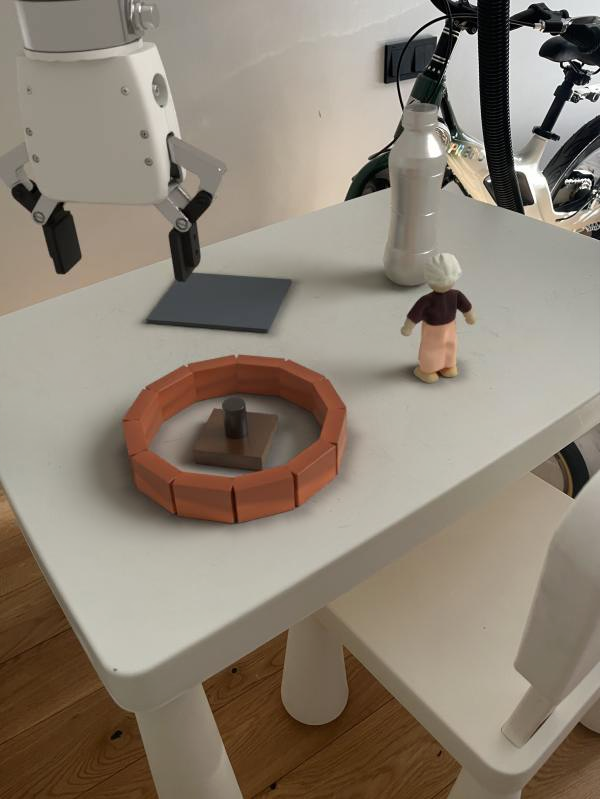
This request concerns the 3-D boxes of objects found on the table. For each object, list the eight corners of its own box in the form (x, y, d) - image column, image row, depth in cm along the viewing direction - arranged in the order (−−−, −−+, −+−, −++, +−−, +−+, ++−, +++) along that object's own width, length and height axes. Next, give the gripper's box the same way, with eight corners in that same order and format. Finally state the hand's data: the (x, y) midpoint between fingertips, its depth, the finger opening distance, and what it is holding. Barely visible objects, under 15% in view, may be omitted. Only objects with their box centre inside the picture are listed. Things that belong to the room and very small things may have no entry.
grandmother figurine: (449, 353, 76) (461, 237, 68) (474, 370, 73) (490, 252, 65) (389, 376, 73) (395, 258, 65) (413, 395, 70) (422, 274, 62)
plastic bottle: (372, 284, 88) (378, 111, 77) (398, 262, 93) (407, 96, 81) (421, 297, 85) (434, 119, 74) (445, 274, 90) (462, 103, 78)
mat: (147, 323, 83) (146, 319, 82) (182, 275, 92) (182, 271, 92) (267, 333, 80) (267, 329, 80) (291, 282, 89) (291, 279, 89)
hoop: (94, 505, 59) (86, 473, 57) (173, 376, 74) (169, 347, 72) (322, 535, 56) (322, 503, 54) (358, 394, 70) (358, 364, 68)
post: (194, 463, 63) (188, 421, 60) (215, 420, 68) (210, 380, 65) (262, 471, 62) (259, 429, 59) (278, 427, 66) (276, 387, 64)
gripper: (227, 14, 48) (247, 255, 58) (-11, 16, 51) (48, 244, 61) (190, 36, 42) (220, 300, 52) (-76, 37, 45) (1, 286, 55)
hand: (127, 270), depth 57 cm, fingers open, 9 cm apart
